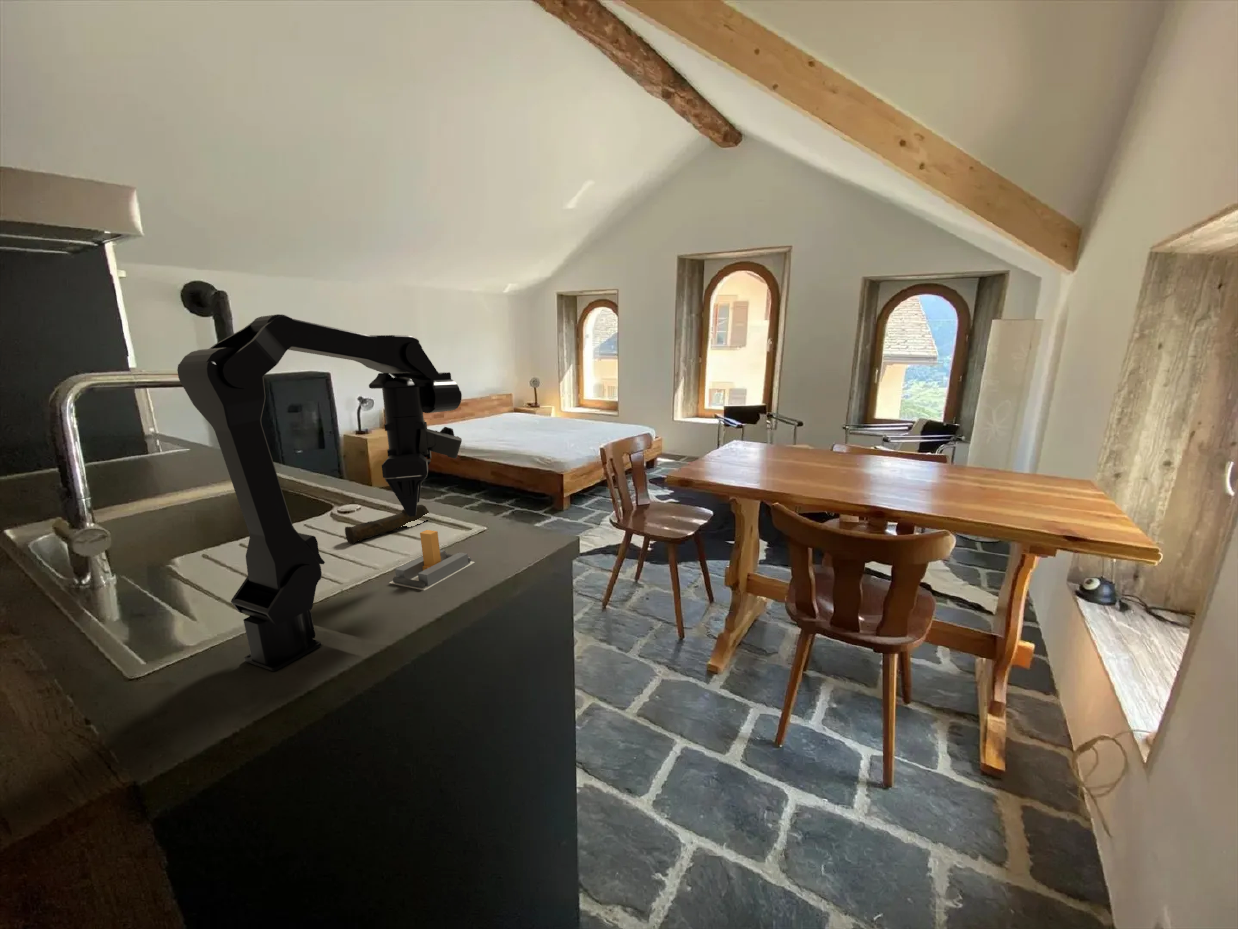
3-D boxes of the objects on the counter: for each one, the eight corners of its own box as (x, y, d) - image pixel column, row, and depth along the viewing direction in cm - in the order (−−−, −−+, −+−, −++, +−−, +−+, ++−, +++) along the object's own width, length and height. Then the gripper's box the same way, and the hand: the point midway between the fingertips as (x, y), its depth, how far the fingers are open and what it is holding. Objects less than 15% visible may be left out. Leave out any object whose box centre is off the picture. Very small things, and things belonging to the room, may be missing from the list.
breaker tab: (433, 574, 87) (428, 535, 86) (423, 572, 88) (418, 533, 87) (443, 568, 89) (439, 530, 88) (433, 566, 90) (428, 529, 89)
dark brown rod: (352, 546, 108) (349, 525, 107) (345, 542, 111) (342, 522, 110) (435, 523, 122) (433, 504, 121) (427, 520, 125) (425, 502, 124)
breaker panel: (425, 598, 82) (423, 578, 82) (390, 591, 86) (387, 571, 85) (475, 569, 93) (473, 551, 92) (442, 564, 96) (440, 546, 96)
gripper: (457, 417, 77) (466, 518, 79) (455, 409, 94) (462, 492, 97) (376, 422, 73) (388, 526, 76) (390, 412, 91) (399, 498, 94)
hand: (414, 509), depth 86 cm, fingers open, 9 cm apart
